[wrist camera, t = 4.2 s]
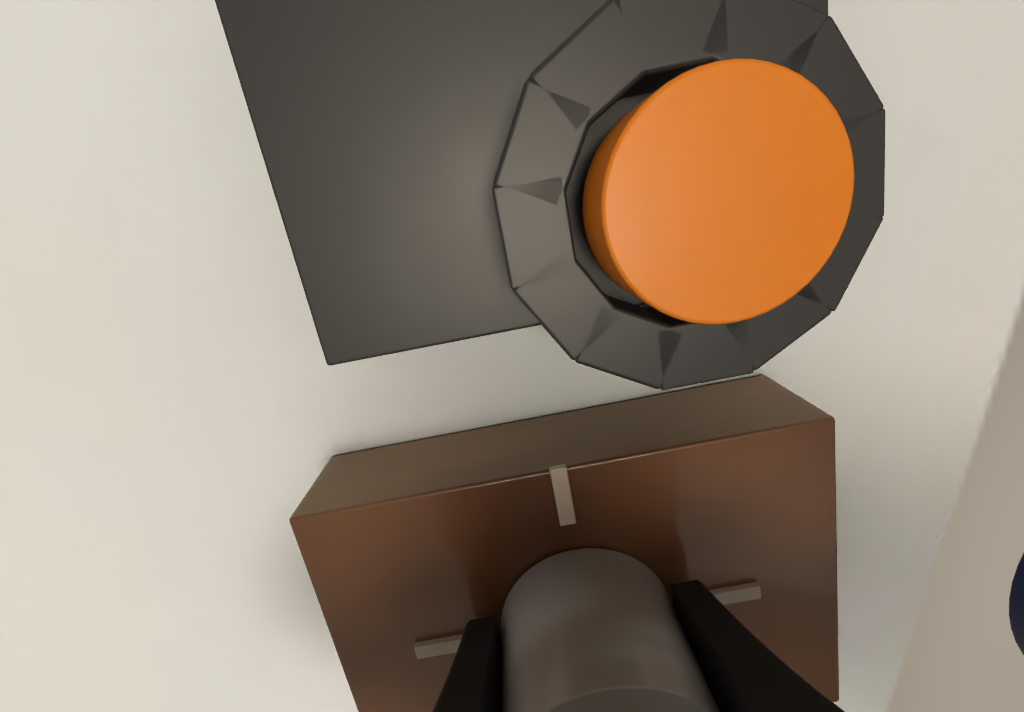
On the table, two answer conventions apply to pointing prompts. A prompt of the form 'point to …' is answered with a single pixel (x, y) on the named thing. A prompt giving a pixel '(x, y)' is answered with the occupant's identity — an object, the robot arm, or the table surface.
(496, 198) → the switch block
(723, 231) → the switch button
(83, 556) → the table surface
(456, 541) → the dimmer panel
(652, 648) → the dial
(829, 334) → the table surface
